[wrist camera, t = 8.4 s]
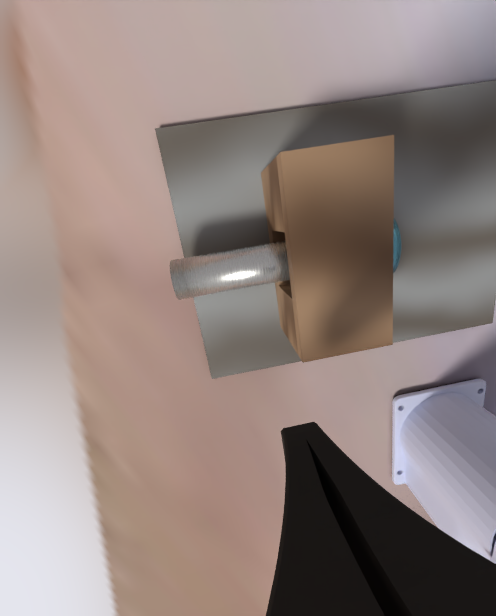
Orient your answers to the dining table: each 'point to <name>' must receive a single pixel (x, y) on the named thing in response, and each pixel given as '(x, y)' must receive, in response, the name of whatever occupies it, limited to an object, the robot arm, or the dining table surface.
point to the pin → (240, 268)
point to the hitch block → (342, 221)
